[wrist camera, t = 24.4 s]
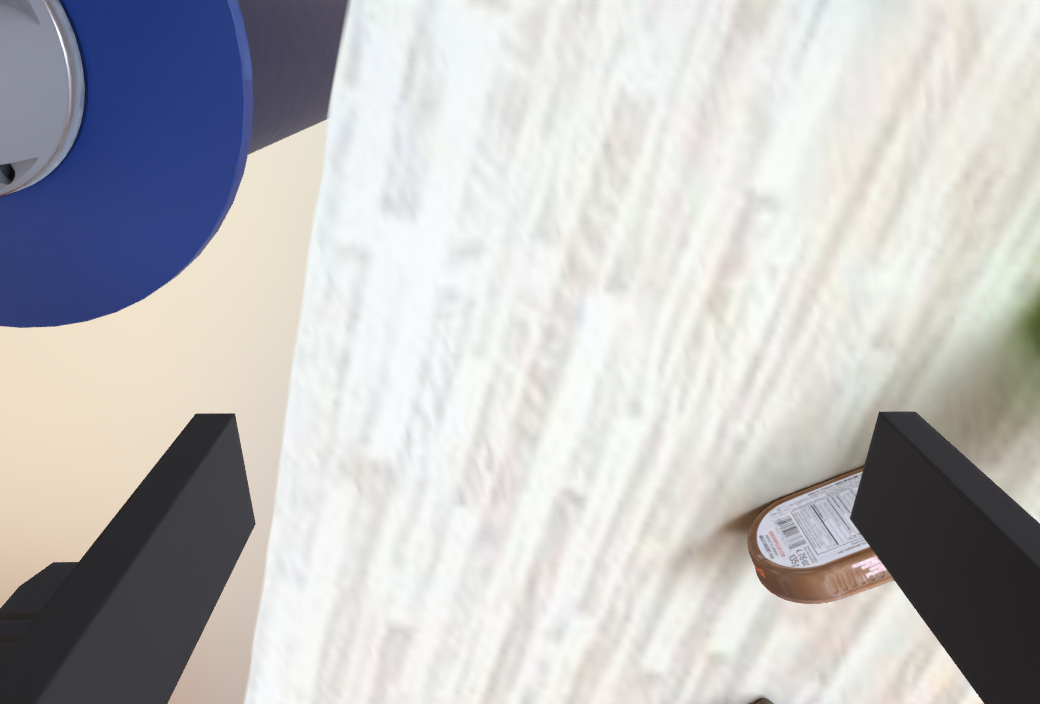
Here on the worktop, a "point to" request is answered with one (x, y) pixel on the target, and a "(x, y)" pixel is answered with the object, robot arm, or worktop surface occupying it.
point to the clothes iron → (764, 702)
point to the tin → (815, 545)
